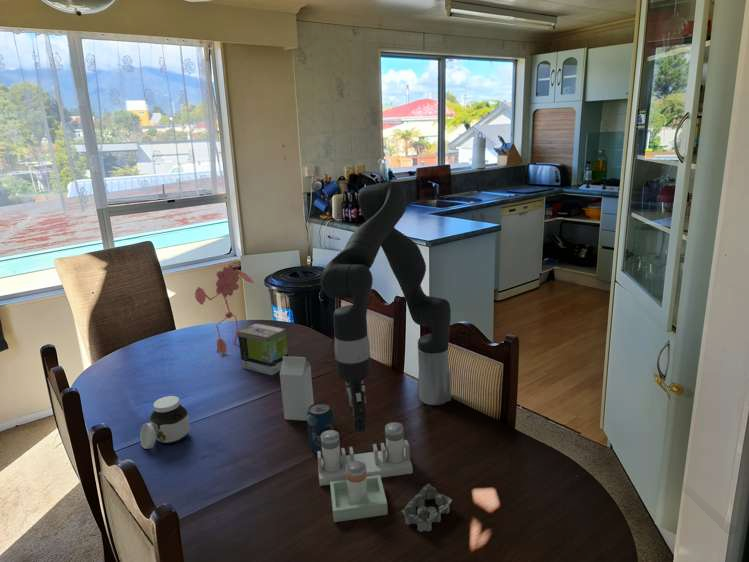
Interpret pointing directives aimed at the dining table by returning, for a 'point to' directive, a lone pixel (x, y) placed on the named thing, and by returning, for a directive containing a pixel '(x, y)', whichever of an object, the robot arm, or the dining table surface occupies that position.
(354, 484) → the marked fuse
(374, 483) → the tray
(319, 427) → the soda can
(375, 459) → the clip rail
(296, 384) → the milk carton
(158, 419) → the spread jar
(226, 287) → the figurine
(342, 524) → the dining table surface
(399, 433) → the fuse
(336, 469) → the cylinder
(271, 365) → the tea box
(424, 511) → the egg carton
